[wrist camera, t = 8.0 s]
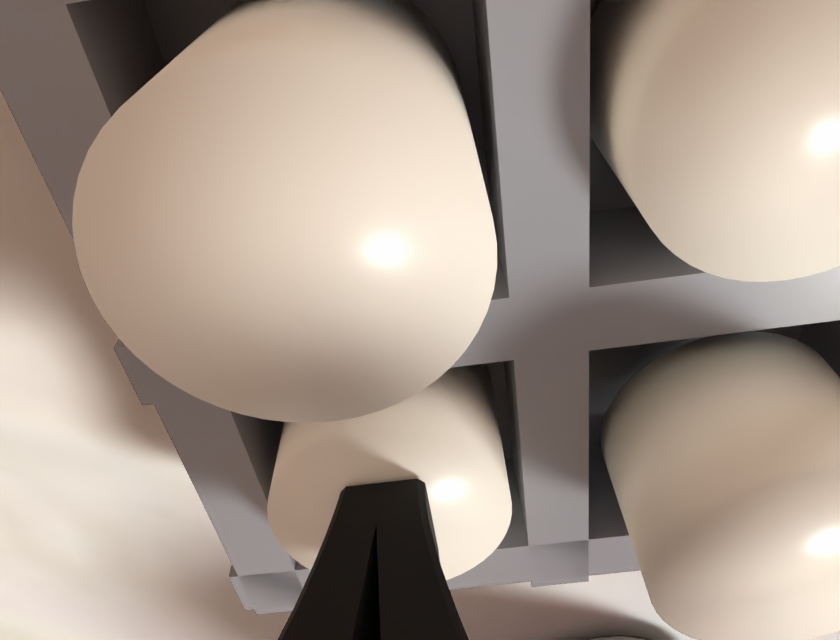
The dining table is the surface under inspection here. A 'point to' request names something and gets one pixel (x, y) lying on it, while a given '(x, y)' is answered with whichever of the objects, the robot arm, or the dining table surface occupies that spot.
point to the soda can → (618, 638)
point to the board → (366, 242)
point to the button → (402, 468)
